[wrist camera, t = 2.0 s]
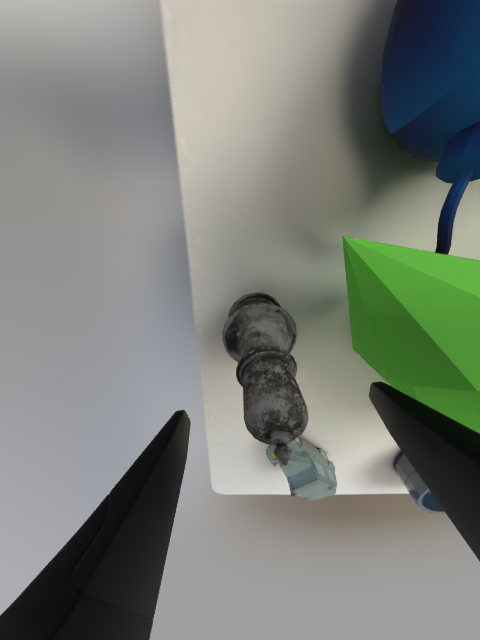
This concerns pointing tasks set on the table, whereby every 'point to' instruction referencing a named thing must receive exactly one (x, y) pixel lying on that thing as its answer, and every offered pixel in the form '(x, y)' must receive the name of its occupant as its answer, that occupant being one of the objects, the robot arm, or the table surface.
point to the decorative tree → (418, 323)
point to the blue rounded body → (436, 92)
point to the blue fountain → (416, 486)
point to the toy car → (307, 470)
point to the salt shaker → (266, 370)
